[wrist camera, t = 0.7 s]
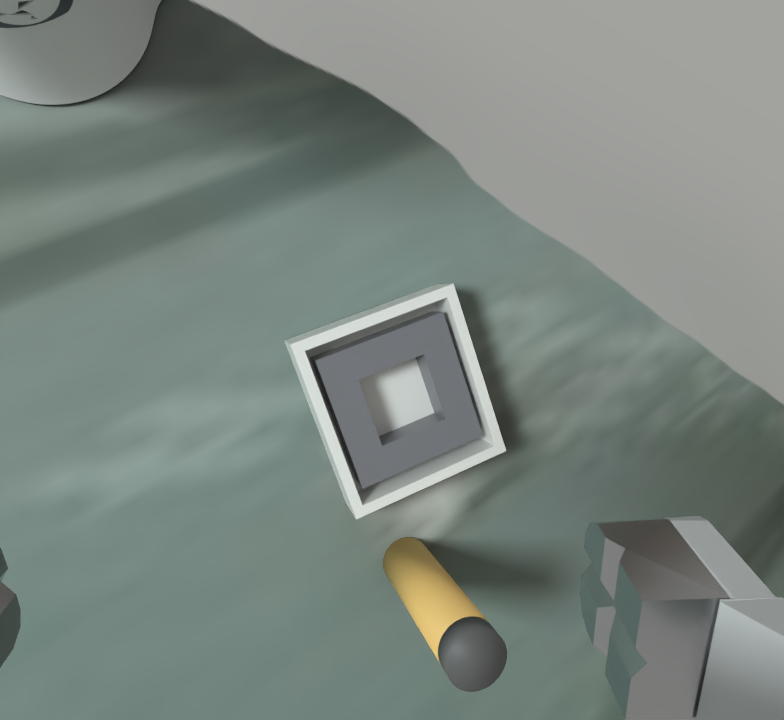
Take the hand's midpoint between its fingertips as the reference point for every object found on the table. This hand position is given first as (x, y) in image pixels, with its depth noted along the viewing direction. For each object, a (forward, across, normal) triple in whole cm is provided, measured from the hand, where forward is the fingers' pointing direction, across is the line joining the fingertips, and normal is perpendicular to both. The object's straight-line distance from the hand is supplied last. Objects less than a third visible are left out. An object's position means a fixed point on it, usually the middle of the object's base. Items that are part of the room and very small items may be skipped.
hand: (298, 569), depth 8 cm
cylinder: (+34, -2, +27) cm, 44 cm away
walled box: (+37, -2, +13) cm, 40 cm away
